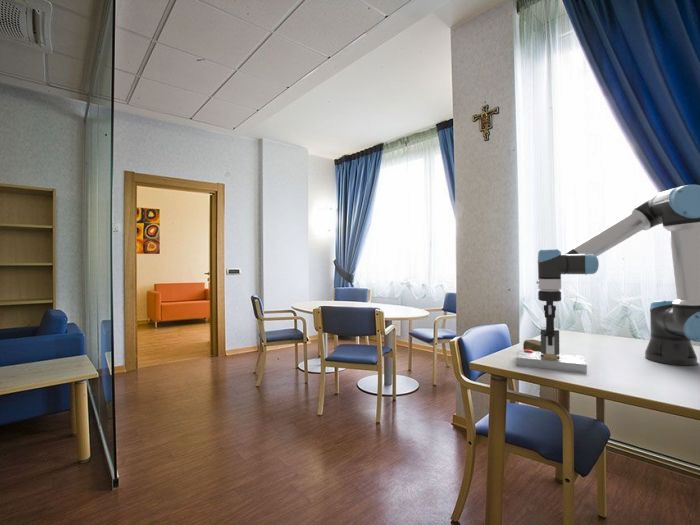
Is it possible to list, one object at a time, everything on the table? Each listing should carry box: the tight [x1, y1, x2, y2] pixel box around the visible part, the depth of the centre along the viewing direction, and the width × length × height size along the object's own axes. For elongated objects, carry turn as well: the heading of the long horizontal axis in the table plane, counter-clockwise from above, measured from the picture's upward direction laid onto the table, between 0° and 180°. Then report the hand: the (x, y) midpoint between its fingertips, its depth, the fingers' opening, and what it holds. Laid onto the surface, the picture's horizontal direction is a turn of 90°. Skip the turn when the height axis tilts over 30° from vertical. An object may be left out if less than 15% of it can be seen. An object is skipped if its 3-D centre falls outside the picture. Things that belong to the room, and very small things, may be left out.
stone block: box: [522, 339, 541, 352], centre depth 153 cm, size 6×12×5 cm, turn 16°
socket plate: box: [516, 349, 588, 374], centre depth 136 cm, size 22×13×4 cm, turn 62°
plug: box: [540, 326, 560, 359], centre depth 136 cm, size 6×5×12 cm
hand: (550, 352), depth 136 cm, fingers closed on plug, 5 cm apart
